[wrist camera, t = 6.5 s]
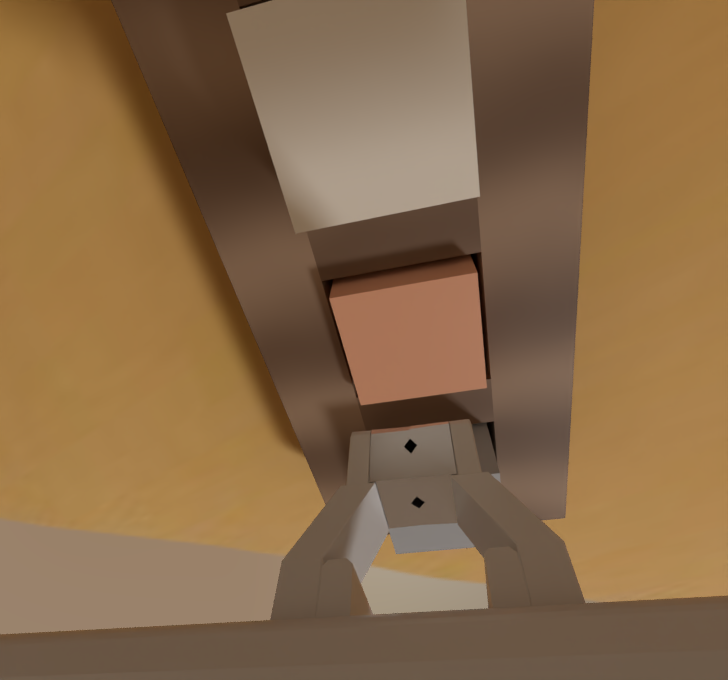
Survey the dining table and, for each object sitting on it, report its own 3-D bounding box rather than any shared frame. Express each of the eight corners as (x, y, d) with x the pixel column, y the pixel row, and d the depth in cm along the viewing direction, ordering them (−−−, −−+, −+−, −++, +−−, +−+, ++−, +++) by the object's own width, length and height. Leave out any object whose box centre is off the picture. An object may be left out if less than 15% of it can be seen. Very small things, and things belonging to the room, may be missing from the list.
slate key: (376, 410, 22) (375, 486, 18) (479, 396, 21) (499, 473, 17) (394, 475, 25) (396, 554, 21) (486, 465, 24) (505, 544, 20)
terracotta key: (339, 247, 19) (329, 298, 15) (458, 224, 18) (477, 272, 14) (364, 342, 22) (360, 405, 18) (468, 325, 21) (487, 388, 17)
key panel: (155, -37, 14) (86, -59, 11) (547, -158, 12) (607, -230, 9) (345, 479, 28) (340, 539, 25) (542, 457, 26) (565, 518, 23)
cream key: (270, 20, 13) (225, 13, 10) (438, -27, 12) (461, -54, 9) (316, 187, 16) (295, 233, 12) (456, 157, 15) (480, 196, 11)
